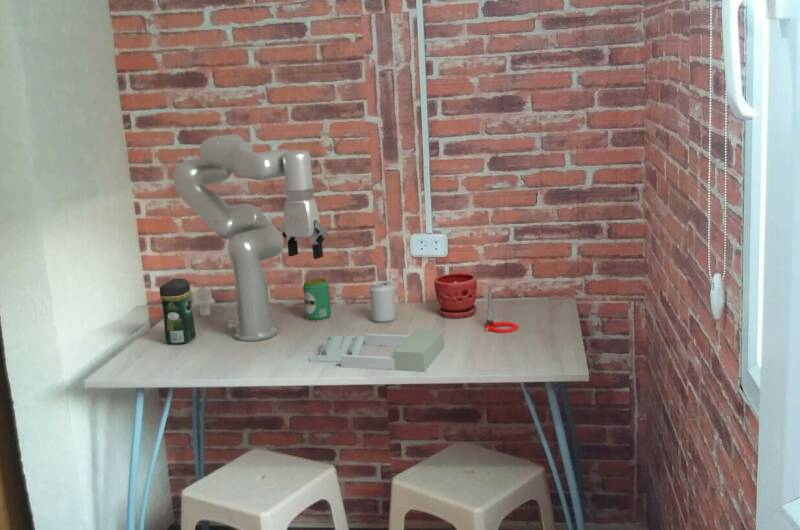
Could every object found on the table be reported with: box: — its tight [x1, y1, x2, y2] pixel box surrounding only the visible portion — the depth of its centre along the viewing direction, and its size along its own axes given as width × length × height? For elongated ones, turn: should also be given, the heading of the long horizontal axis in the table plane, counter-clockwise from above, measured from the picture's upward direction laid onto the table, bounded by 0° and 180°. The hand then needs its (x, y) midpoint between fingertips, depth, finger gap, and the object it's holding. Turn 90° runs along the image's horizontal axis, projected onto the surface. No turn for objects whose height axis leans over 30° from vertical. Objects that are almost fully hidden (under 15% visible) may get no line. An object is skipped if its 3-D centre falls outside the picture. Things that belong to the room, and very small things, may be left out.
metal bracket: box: [309, 332, 365, 363], centre depth 250 cm, size 14×6×15 cm
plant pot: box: [433, 272, 478, 319], centre depth 282 cm, size 13×13×12 cm
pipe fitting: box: [192, 288, 216, 317], centre depth 299 cm, size 6×7×8 cm
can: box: [369, 280, 397, 324], centre depth 280 cm, size 8×8×12 cm
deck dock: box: [340, 328, 445, 372], centre depth 246 cm, size 23×20×5 cm
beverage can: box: [302, 278, 332, 322], centre depth 287 cm, size 8×8×12 cm
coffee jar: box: [159, 278, 197, 346], centre depth 270 cm, size 10×8×19 cm
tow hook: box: [484, 285, 519, 334], centre depth 264 cm, size 8×13×9 cm
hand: (305, 256), depth 253 cm, fingers open, 9 cm apart
